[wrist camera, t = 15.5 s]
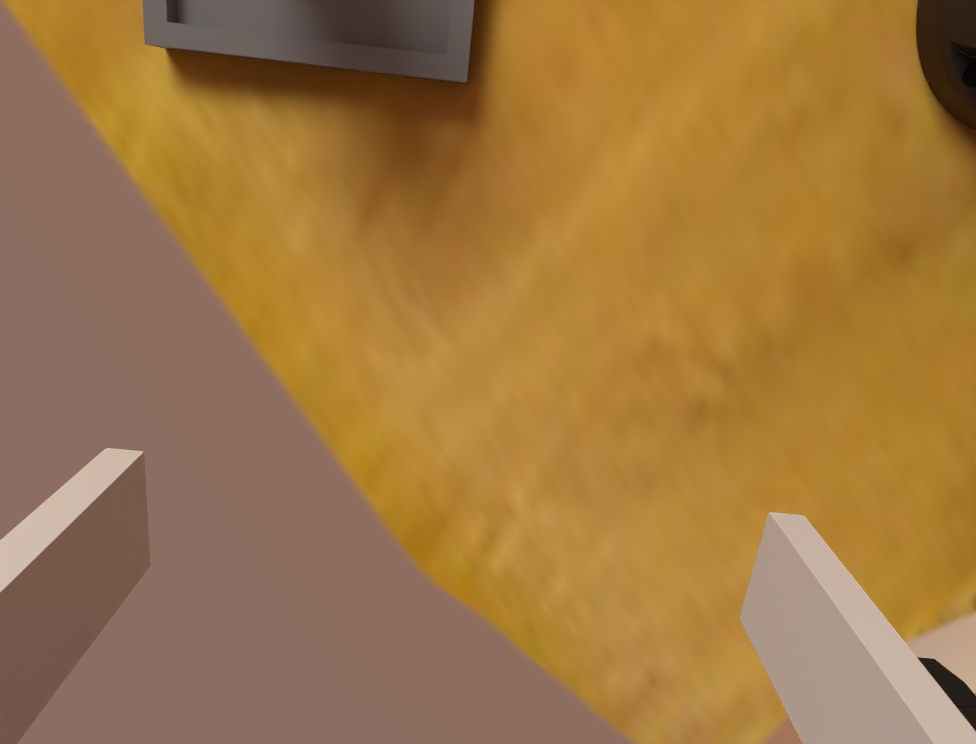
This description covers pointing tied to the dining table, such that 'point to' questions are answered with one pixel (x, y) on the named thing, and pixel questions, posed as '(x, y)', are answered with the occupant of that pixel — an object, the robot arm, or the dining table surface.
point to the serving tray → (324, 33)
